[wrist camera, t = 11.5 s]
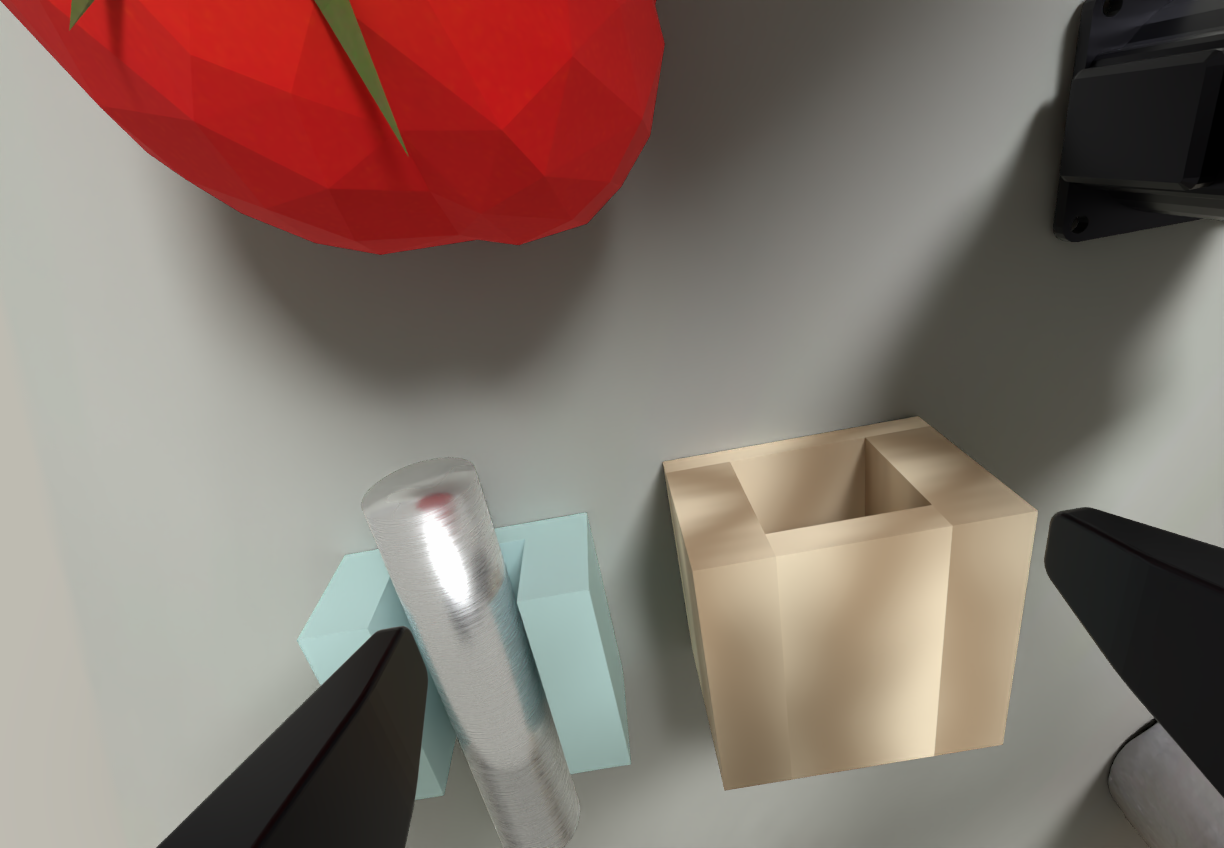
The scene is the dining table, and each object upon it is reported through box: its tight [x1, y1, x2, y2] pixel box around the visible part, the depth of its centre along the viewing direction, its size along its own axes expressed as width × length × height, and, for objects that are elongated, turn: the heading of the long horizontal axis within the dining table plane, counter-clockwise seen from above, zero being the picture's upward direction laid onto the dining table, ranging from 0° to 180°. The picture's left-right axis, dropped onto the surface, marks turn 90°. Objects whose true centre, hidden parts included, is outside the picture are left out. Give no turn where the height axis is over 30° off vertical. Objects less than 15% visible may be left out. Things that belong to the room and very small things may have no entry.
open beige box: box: [663, 416, 1038, 790], centre depth 20 cm, size 9×9×6 cm
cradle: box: [297, 512, 631, 800], centre depth 22 cm, size 9×8×4 cm
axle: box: [361, 458, 580, 848], centre depth 21 cm, size 16×3×3 cm, turn 10°
